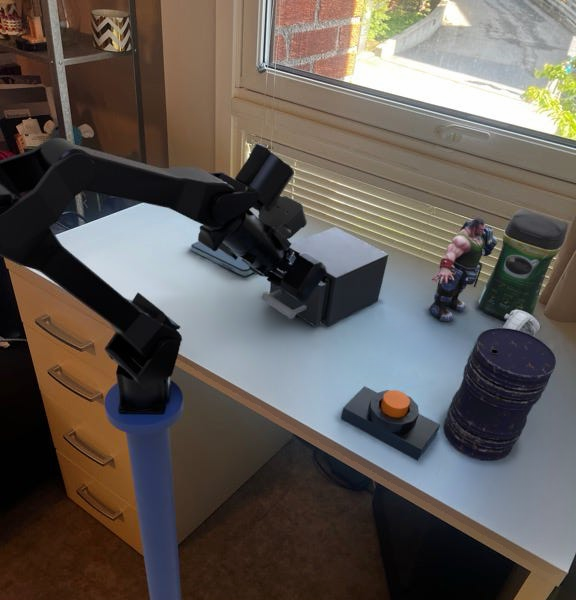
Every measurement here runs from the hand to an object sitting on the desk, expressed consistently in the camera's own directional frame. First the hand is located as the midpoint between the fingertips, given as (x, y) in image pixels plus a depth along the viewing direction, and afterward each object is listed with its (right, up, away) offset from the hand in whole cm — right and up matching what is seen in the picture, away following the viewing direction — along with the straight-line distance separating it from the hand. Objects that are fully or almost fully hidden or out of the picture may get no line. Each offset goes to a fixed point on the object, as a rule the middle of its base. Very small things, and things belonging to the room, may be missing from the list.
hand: (294, 279), depth 91 cm
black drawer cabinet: (+6, -1, +10) cm, 12 cm away
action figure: (+28, -4, +11) cm, 31 cm away
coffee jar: (+39, -4, +13) cm, 41 cm away
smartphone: (-12, +7, +18) cm, 23 cm away
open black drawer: (+3, -3, +7) cm, 8 cm away
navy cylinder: (+26, -24, -13) cm, 38 cm away
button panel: (+13, -23, -14) cm, 30 cm away
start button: (+13, -20, -16) cm, 29 cm away
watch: (+33, -15, -2) cm, 36 cm away
